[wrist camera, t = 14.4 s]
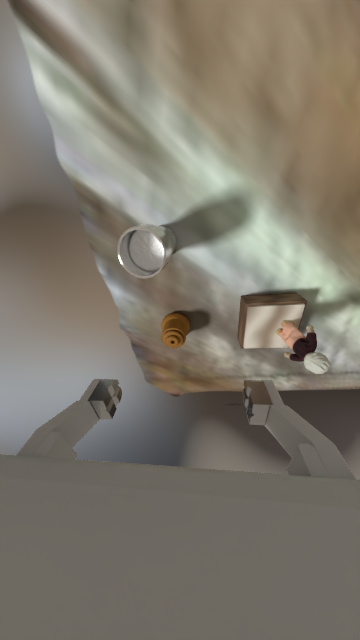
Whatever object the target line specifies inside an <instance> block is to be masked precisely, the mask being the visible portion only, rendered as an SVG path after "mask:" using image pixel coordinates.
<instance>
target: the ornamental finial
mask: <svg viewBox="0 0 360 640" xmlns="http://www.w3.org/2000/svg"><path fill="white" fill-rule="evenodd" d="M162 330H163V332H162V336H161V338H162V341H163V343H164V344H165V345H167V346H169V347H172V348H177V347H180V346H182V345H183V344H184V343H185V339H186V335H187V334H188V333H189V331H190V322H189V320H188V319H187V318H186V317H185V316H184V315H182V314H179V313H172V314H169V315H167V316H166V317H165V318H164V319H163V321H162Z"/></svg>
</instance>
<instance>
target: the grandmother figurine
mask: <svg viewBox="0 0 360 640" xmlns="http://www.w3.org/2000/svg"><path fill="white" fill-rule="evenodd" d="M294 325H295V323H294V321H291V320H284V321H282V322H281V326H282V327H284V328H283V329H281V328H280V329H278V330H277V331H276V334H277V335H278V336H280V337H281V338H282V340H283V341H284V342H285V343H286V344H287V345H288V346H289V347H290V348H291V349H293V350H294V352H295V353H296V354H291V353H288V352H285V353H284V356H285V357H288V358H289V359H291V360H293V361H304V365H305V367H306V368H307V369H308V370H310V371H312V372H314V373H316V374H323V373H325V372H326V371H328V369H329V368H330V362H329V361H328V358H327V357H326V356H325V355H323V354H321V353H317V352H314V351H315V349H316V347H317V339H316V333H315V332H314V330H313V326H311V325H309V326H307V327H306V329H307V336H306V337H305V336H304V335H303V334H302V333H301V332H300V331H299V329H298V328H297V327H296V326H294Z"/></svg>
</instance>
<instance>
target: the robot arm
mask: <svg viewBox="0 0 360 640" xmlns="http://www.w3.org/2000/svg"><path fill="white" fill-rule="evenodd" d="M118 384H119V383H118V380H111V379H94V380H93V381H92V382H91V384H90V385H89V387H88V388H87V390H86V391H85V393H84V394H83V396H82V397H81V399H80V400H79V401H76V402H75V403H73V404H72V405H70V406H69V407H68V408H66V409H65V410H63V411H62V412H61V413H59V414H58V415H56V416H55V417H54V418H52V419H51V420H49V421H48V422H46V423H45V424H44V425H42V426H41V427H39V428H38V429H37V430H36V431H35V432H34V433H33V435H32V436H31V437H30V439H29V440H28V441H27V442H26V443H25V445H24V446H23V447H22V449H21V450H20V451H19V452H18V454H17V455H3V454H0V640H360V480H357V479H356V478H355V477H354V475H353V474H352V472H351V470H350V469H349V467H348V465H347V464H346V462H345V461H344V459H343V457H342V456H341V454H340V452H339V451H338V449H337V448H336V446H335V444H333V443H332V442H331V441H330V440H329V439H327V438H326V437H325V436H324V435H322V434H321V433H320V432H319V431H318V430H316V429H315V428H314V427H313V426H311V425H310V424H309V423H308V422H307V421H305V420H304V419H303V418H302V417H300V416H299V415H298V414H297V413H295V412H294V411H293V410H292V409H291V408H289V407H288V406H284V404H283V402H282V400H281V398H280V395H279V394H278V391H277V389H276V387H275V385H274V383H273V381H272V380H245V381H244V387H245V388H244V389H243V400H244V405H245V406H246V407H247V416H248V420H249V424H252V425H265V426H266V428H267V429H268V430H269V431H270V432H271V433H272V435H273V436H274V437H275V438H276V439H277V440H278V442H279V443H280V444H281V445H282V446H283V448H284V449H285V450H286V451H287V452H288V453H289V455H290V456H291V457H292V460H291V462H290V464H289V466H288V468H287V471H288V474H289V475H286V474H272V473H258V472H244V471H230V470H215V469H202V468H187V467H173V466H159V465H145V464H130V463H116V462H102V461H88V460H75V459H76V457H77V453H76V452H75V451H74V449H73V446H74V445H75V444H76V443H77V442H78V441H79V440H80V439H81V438H82V437H83V436H84V435H85V434H86V433H87V432H88V431H89V430H90V429H91V428H92V427H93V426H94V425H95V424H96V423H97V422H98V421H99V419H112V418H113V416H114V414H115V412H116V405H117V404H118V403H119V402H120V400H121V396H122V390H121V388H120V387H119V386H118Z"/></svg>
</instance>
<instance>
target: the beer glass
mask: <svg viewBox="0 0 360 640" xmlns="http://www.w3.org/2000/svg"><path fill="white" fill-rule="evenodd" d="M175 248H176V238H175V236H174V234H173V232H172V231H171V230H170V229H169V228H167V227H164V226H156V225H152V224H143V225H138V226H135V227H132V228H129V229H128V230H126V231H125V232H124V233H123V234H122V235H121V237H120V239H119V242H118V248H117V251H118V257H119V260H120V262H121V264H122V266H123V267H124V268H125V269H126V270H127V271H128V272H129V273H130V274H132V275H133V276H135V277H138V278H151V277H153V276H155V275H157V274H158V273H159V272H160V271H161V270H163V269H164V268H165V267H166V265H167V264H168V262H169V261H170V258H171V255H172V253H173V252H174V250H175Z"/></svg>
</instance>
